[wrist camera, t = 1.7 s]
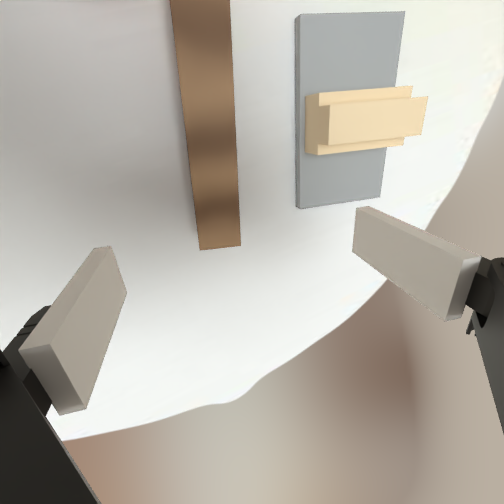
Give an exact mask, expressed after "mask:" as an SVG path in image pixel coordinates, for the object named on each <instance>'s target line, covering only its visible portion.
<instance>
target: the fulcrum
mask: <svg viewBox="0 0 504 504" xmlns="http://www.w3.org/2000/svg"><path fill="white" fill-rule="evenodd" d="M404 16H405V11H401V12H361V13H322V14H300V15H299V16H298V17H297V18H296V19H295V81H296V207H298V208H299V209H305V208H312V207H319V206H325V205H332V204H338V203H345V202H352V201H358V200H365V199H371V198H378V197H380V193H381V186H382V178H383V171H384V164H385V156H386V149H387V147H392V146H400V145H403V143H404V137H406V136H415V135H421V132H422V127H423V121H424V116H425V111H426V105H427V100H428V96H427V97H416V98H411V93H412V87H413V86H401V87H395V83H396V75H397V68H398V61H399V53H400V46H401V39H402V31H403V24H404Z"/></svg>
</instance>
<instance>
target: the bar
mask: <svg viewBox="0 0 504 504" xmlns="http://www.w3.org/2000/svg"><path fill="white" fill-rule="evenodd" d="M170 6H171V14H172V23H173V31H174V39H175V48H176V56H177V64H178V73H179V81H180V89H181V98H182V106H183V114H184V123H185V131H186V139H187V148H188V156H189V164H190V173H191V181H192V189H193V198H194V206H195V214H196V223H197V231H198V239H199V248H200V250H208V249H217V248H226V247H235V246H241V238H240V216H239V194H238V172H237V150H236V128H235V106H234V84H233V62H232V40H231V18H230V0H170Z"/></svg>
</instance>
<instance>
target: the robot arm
mask: <svg viewBox="0 0 504 504" xmlns="http://www.w3.org/2000/svg"><path fill="white" fill-rule="evenodd" d="M352 252H353V253H355V254H356V255H357V256H359V257H360V258H361V259H363V260H364V261H365V262H367V263H368V264H369V265H370V266H372V267H373V268H374V269H376V270H377V271H378V272H380V273H381V274H382V275H384V276H385V277H386V278H388V279H389V280H390V281H392V282H393V283H394V284H396V285H397V286H398V287H400V288H401V289H402V290H404V291H405V292H406V293H407V294H409V295H410V296H411V297H413V298H414V299H415V300H417V301H418V302H419V303H421V304H422V305H423V306H425V307H426V308H427V309H429V310H430V311H431V312H433V313H434V314H435V315H437V316H438V317H439V318H440V319H442V320H443V321H444V322H445V321H449V320H454V319H458V318H461V317H462V314H463V311H464V308H465V305H467V306H469V307H470V308H472V309H473V310H474V311H473V313H472V316H471V319H470V322H469V325H468V328H467V330H466V334H470V332H471V331H472V330H475V336H476V337H477V340H478V344H479V348H480V351H481V355H482V358H483V362H484V366H485V369H486V373H487V376H488V380H489V383H490V387H491V390H492V394H493V398H494V401H495V405H496V408H497V412H498V415H499V419H500V423H501V426H502V430H503V433H504V258H495V259H493V260H488V259H486V258H484V257H482V256H480V255H478V254H476V253H474V252H471V251H469V250H467V249H465V248H462V247H460V246H458V245H455V244H453V243H451V242H449V241H446V240H444V239H442V238H440V237H437V236H435V235H433V234H431V233H428V232H426V231H424V230H421V229H419V228H417V227H415V226H412V225H410V224H408V223H406V222H403V221H401V220H399V219H397V218H394V217H392V216H390V215H387V214H385V213H383V212H381V211H378V210H376V209H374V208H372V207H369V206H366V207H360V208H356V216H355V227H354V237H353V248H352ZM126 294H127V291H126V288H125V285H124V282H123V280H122V277H121V274H120V271H119V268H118V265H117V262H116V259H115V256H114V254H113V251H112V248H111V246H107V247H100V248H94V249H93V251H92V252H91V253H90V255H89V256H88V257H87V259H86V260H85V261H84V263H83V264H82V265H81V267H80V268H79V269H78V271H77V272H76V273H75V275H74V276H73V277H72V279H71V280H70V281H69V283H68V284H67V285H66V287H65V288H64V289H63V291H62V292H61V293H60V295H59V296H58V297H57V299H56V300H55V301H54V303H53V304H52V305H50V306H45V307H43V308H42V309H41V310H39V311H38V312H37V313H35V314H34V315H33V316H31V318H30V319H29V320H28V321H27V323H26V324H25V325H24V328H22V329H21V330H20V331H19V332H18V334H17V337H14V339H13V340H12V341H11V342H10V344H9V345H8V346H7V347H6V348H5V350H4V351H3V352H2V351H1V350H0V504H101V502H100V501H99V499H98V498H97V496H96V495H95V493H94V491H93V490H92V488H91V487H90V485H89V484H88V482H87V480H86V479H85V477H84V476H83V474H82V473H81V471H80V470H79V468H78V466H77V465H76V463H75V462H74V460H73V459H72V457H71V456H70V454H69V452H68V451H67V449H66V448H65V446H64V444H63V443H62V441H61V440H60V438H59V437H58V435H57V433H56V432H55V430H54V429H53V427H52V426H51V424H50V422H49V421H48V420H47V418H46V417H45V416H46V414H47V412H48V410H49V408H50V406H51V404H52V405H53V406H54V408H55V409H56V411H57V412H58V414H59V416H60V415H64V414H68V413H72V412H76V411H80V410H85V409H86V408H87V405H88V402H89V399H90V397H91V394H92V391H93V388H94V385H95V382H96V380H97V377H98V374H99V371H100V368H101V365H102V362H103V360H104V357H105V354H106V351H107V348H108V345H109V343H110V340H111V337H112V334H113V331H114V328H115V326H116V323H117V320H118V317H119V314H120V311H121V309H122V306H123V303H124V300H125V297H126Z"/></svg>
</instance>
